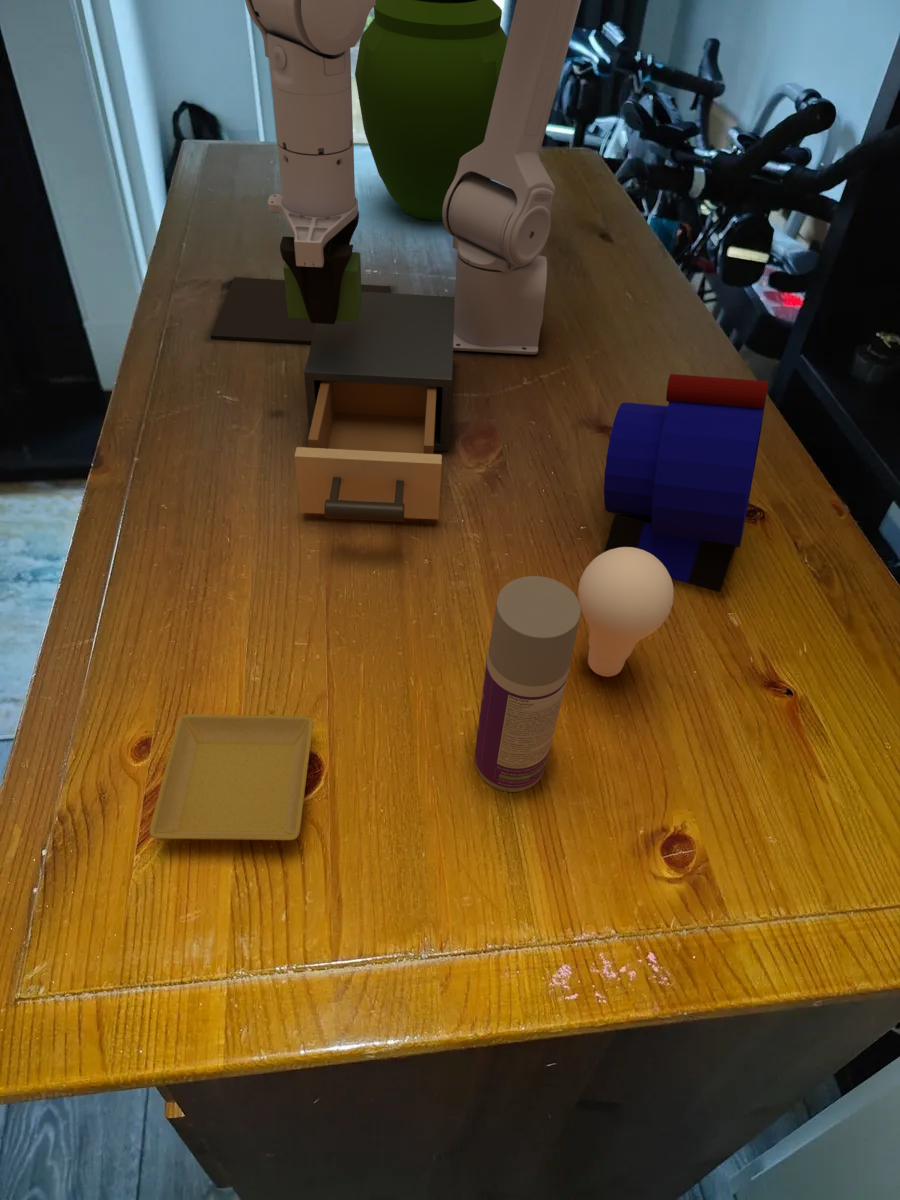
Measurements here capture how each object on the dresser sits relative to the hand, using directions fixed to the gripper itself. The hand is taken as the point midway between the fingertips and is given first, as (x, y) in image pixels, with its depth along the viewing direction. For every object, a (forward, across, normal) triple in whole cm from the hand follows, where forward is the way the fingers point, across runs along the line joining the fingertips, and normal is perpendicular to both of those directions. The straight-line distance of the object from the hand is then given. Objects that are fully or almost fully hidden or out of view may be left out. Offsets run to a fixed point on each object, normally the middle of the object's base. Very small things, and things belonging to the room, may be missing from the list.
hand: (325, 309), depth 73 cm
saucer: (+10, +41, -1) cm, 43 cm away
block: (0, 0, 0) cm, 0 cm away
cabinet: (+10, -2, +5) cm, 12 cm away
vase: (+10, -48, +8) cm, 49 cm away
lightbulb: (+10, +31, +23) cm, 40 cm away
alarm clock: (+10, +15, +30) cm, 35 cm away
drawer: (+9, +12, +5) cm, 16 cm away
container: (+10, +39, +16) cm, 43 cm away
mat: (+10, -18, -5) cm, 21 cm away
